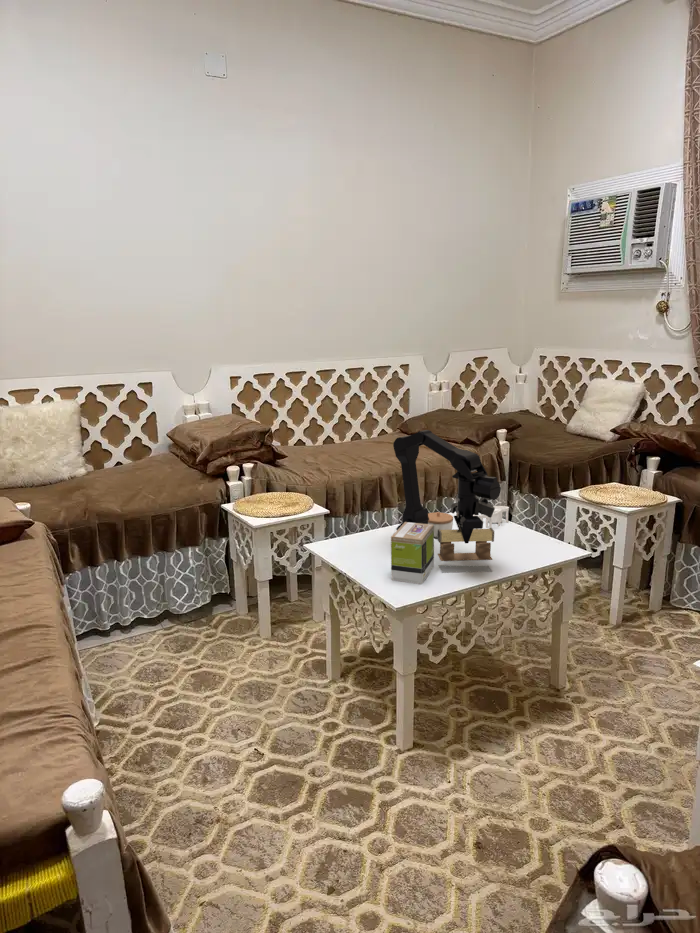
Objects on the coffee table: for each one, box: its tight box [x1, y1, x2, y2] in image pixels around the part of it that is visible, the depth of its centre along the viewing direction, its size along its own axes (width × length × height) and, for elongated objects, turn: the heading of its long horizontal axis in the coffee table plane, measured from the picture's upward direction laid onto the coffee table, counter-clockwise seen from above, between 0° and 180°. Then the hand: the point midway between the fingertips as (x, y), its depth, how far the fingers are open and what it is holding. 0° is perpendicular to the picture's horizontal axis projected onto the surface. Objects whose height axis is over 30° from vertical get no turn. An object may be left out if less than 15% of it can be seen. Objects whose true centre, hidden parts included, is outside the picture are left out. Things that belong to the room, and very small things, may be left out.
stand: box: [437, 541, 493, 562], centre depth 215 cm, size 17×6×6 cm, turn 93°
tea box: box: [390, 522, 435, 585], centre depth 202 cm, size 15×10×15 cm
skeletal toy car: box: [473, 505, 510, 529], centre depth 246 cm, size 20×11×7 cm, turn 109°
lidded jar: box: [428, 511, 454, 539], centre depth 236 cm, size 11×11×9 cm
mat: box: [438, 564, 493, 574], centre depth 207 cm, size 16×7×1 cm, turn 93°
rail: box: [437, 528, 495, 544], centre depth 205 cm, size 17×3×3 cm, turn 93°
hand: (465, 541), depth 205 cm, fingers closed on rail, 3 cm apart
